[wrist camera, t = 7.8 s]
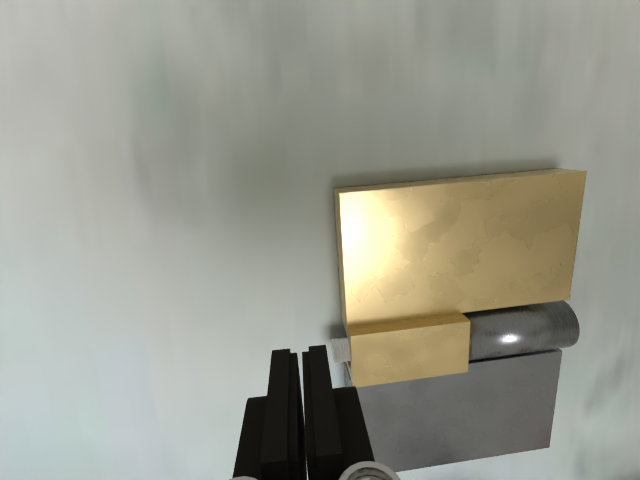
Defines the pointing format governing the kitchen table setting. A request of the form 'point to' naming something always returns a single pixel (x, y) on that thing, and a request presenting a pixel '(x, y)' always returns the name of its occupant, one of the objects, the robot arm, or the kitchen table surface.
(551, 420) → the steel leaf
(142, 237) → the kitchen table surface
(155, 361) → the kitchen table surface
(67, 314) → the kitchen table surface
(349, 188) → the brass leaf
